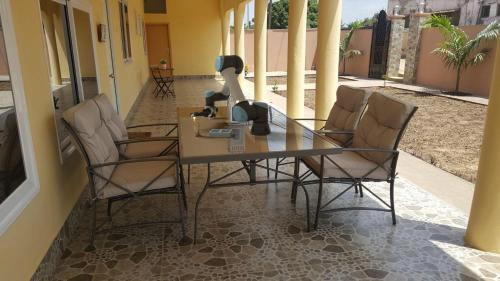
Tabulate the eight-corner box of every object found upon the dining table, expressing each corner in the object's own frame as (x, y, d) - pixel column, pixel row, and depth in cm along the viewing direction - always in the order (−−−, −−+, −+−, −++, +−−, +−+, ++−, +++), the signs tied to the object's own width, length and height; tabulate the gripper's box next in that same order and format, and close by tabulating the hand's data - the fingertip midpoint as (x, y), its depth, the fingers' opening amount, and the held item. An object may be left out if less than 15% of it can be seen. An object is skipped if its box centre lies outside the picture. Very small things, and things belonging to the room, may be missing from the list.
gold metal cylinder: (201, 135, 271) (200, 116, 268) (199, 136, 267) (198, 117, 263) (195, 135, 272) (194, 116, 268) (193, 136, 268) (192, 117, 264)
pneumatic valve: (218, 118, 328) (217, 105, 325) (205, 119, 326) (204, 106, 323) (217, 117, 333) (217, 104, 330) (204, 118, 331) (204, 105, 328)
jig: (232, 134, 273) (232, 129, 272) (229, 137, 263) (229, 132, 262) (212, 133, 275) (212, 129, 274) (209, 137, 265) (208, 132, 264)
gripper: (222, 116, 295) (216, 122, 275) (192, 116, 299) (184, 121, 279) (222, 107, 293) (216, 112, 273) (192, 107, 297) (183, 112, 277)
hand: (200, 117), depth 276 cm, fingers open, 13 cm apart
